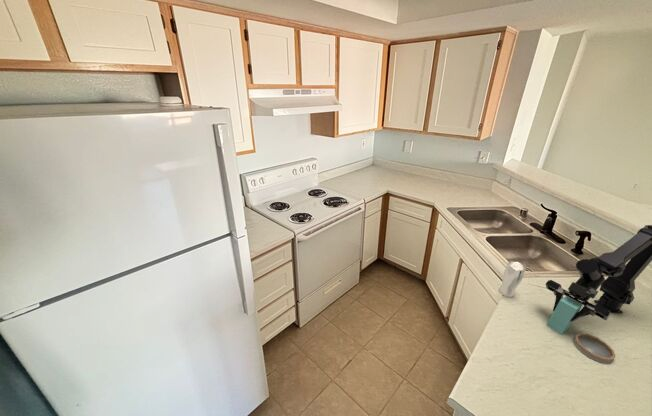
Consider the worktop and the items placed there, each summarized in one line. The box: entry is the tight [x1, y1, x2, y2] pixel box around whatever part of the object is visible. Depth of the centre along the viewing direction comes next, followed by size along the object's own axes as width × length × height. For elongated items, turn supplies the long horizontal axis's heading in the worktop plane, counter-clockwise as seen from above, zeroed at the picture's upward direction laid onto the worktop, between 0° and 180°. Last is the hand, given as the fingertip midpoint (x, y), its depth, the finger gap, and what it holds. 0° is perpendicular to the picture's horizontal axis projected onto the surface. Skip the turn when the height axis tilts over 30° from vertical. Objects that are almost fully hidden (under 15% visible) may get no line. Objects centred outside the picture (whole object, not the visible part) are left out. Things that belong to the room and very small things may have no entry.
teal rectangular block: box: [546, 295, 583, 335], centre depth 100 cm, size 5×5×13 cm
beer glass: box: [498, 261, 527, 298], centre depth 116 cm, size 7×7×15 cm
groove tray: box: [572, 332, 616, 365], centre depth 93 cm, size 11×11×2 cm
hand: (562, 316), depth 99 cm, fingers closed on teal rectangular block, 5 cm apart
